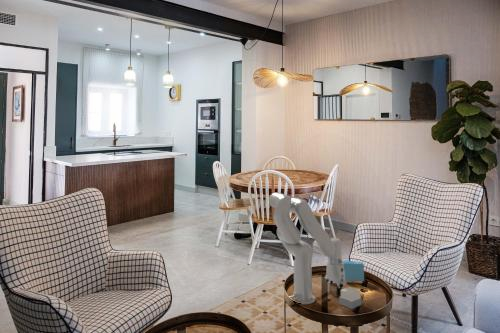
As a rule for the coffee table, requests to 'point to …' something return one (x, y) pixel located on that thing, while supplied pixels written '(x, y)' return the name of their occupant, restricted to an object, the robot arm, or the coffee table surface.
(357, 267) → the data package
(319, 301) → the coffee table surface
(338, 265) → the robot arm
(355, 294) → the tower top
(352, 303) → the tower base
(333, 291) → the walnut cube
